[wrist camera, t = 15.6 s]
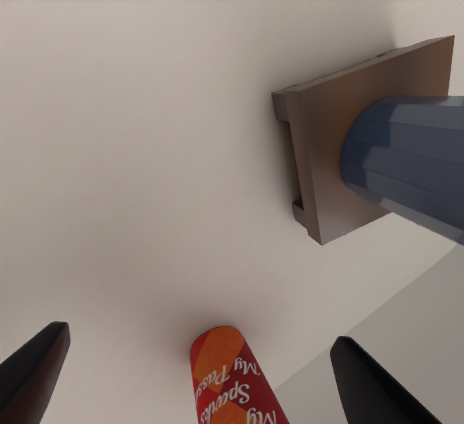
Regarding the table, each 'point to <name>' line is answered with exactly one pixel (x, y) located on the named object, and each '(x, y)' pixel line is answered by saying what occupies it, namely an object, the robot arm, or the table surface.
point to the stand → (339, 122)
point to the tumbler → (410, 160)
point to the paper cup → (231, 382)
